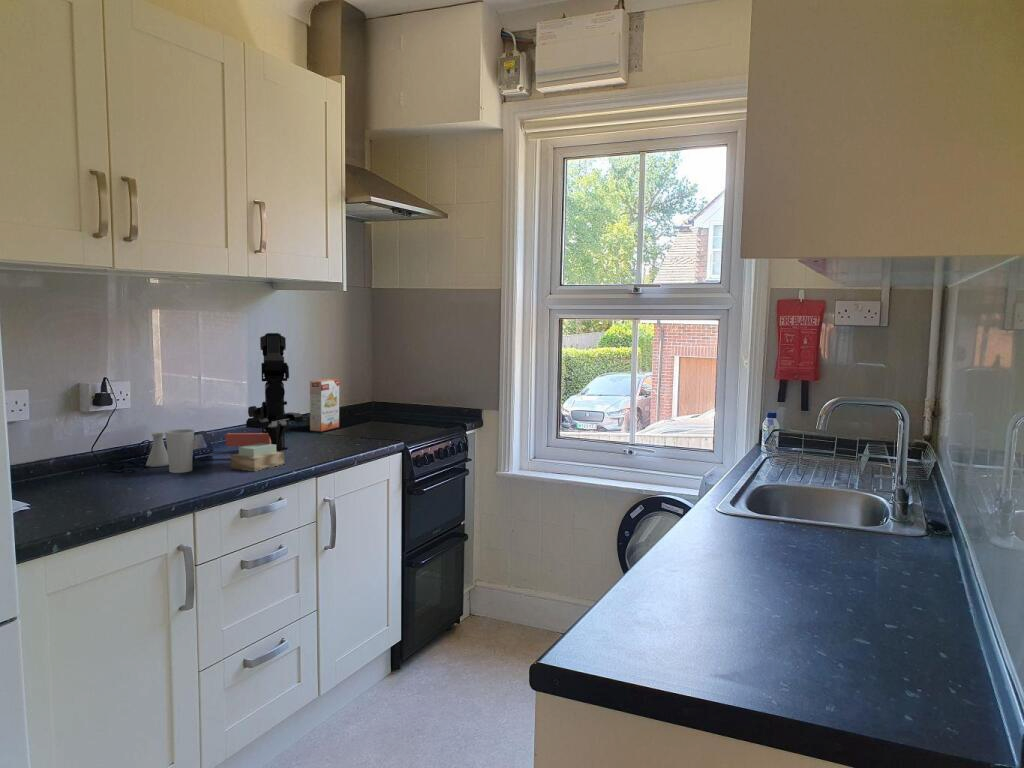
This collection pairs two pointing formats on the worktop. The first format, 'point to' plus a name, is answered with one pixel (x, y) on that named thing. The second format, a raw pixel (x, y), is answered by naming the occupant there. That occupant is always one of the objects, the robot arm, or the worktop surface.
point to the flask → (158, 452)
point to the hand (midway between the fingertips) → (275, 446)
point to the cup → (180, 450)
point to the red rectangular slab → (246, 439)
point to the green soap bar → (257, 449)
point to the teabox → (257, 461)
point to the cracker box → (324, 405)
